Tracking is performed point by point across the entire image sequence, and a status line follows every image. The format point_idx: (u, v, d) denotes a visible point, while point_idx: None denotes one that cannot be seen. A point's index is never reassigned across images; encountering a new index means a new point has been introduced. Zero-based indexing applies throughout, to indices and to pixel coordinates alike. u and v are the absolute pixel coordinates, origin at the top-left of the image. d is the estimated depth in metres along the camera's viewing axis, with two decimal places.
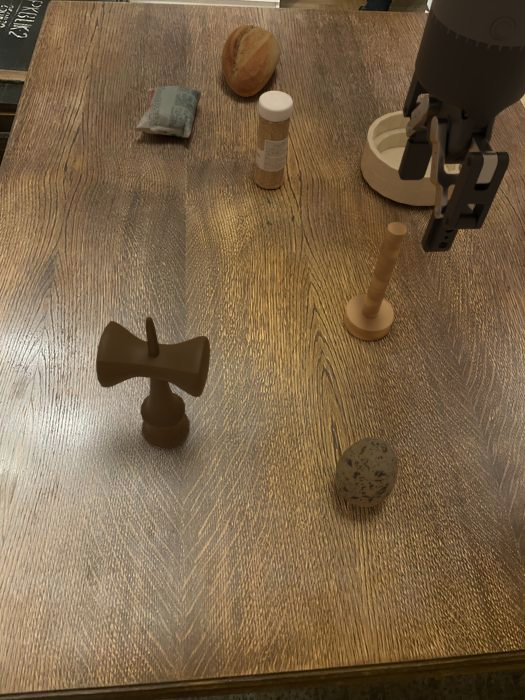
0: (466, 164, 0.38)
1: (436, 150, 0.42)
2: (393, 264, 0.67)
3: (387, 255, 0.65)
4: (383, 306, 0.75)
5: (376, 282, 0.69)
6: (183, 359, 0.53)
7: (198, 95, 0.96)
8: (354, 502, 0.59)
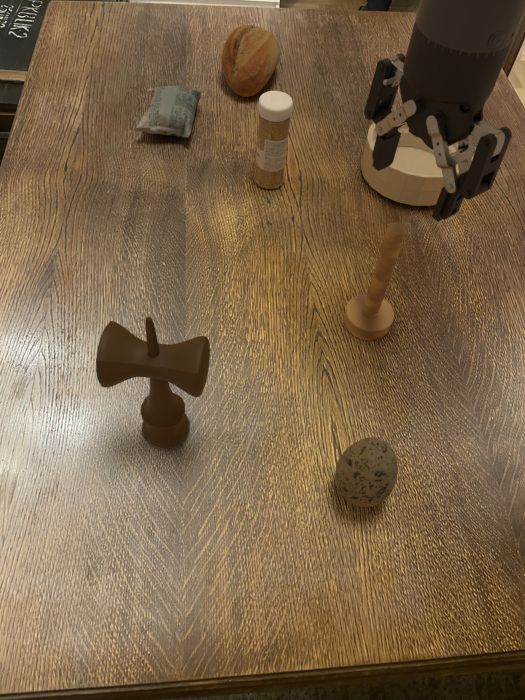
0: (484, 146, 0.48)
1: (438, 141, 0.51)
2: (393, 264, 0.67)
3: (387, 255, 0.65)
4: (383, 306, 0.75)
5: (376, 282, 0.69)
6: (183, 359, 0.53)
7: (198, 95, 0.96)
8: (354, 502, 0.59)
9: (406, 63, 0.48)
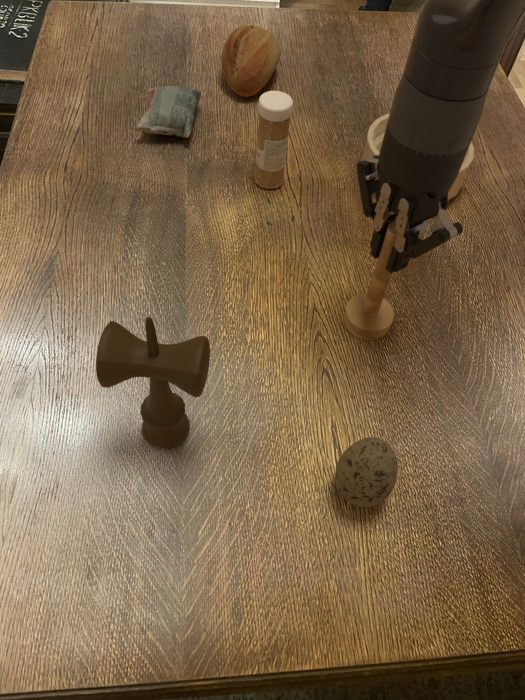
0: (439, 239, 0.57)
1: (403, 217, 0.59)
2: None
3: (387, 255, 0.65)
4: (383, 306, 0.75)
5: (376, 282, 0.69)
6: (183, 359, 0.53)
7: (198, 95, 0.96)
8: (354, 502, 0.59)
9: (380, 156, 0.56)
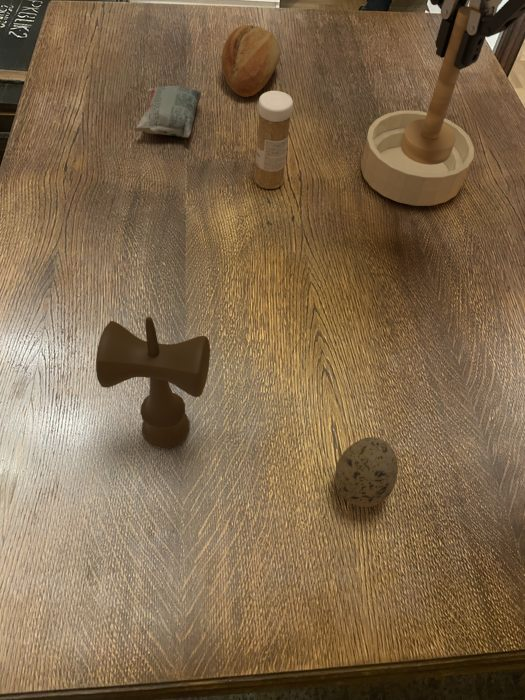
0: None
1: None
2: None
3: (456, 47, 0.61)
4: (443, 130, 0.71)
5: (441, 88, 0.65)
6: (183, 359, 0.53)
7: (198, 95, 0.96)
8: (354, 502, 0.59)
9: None
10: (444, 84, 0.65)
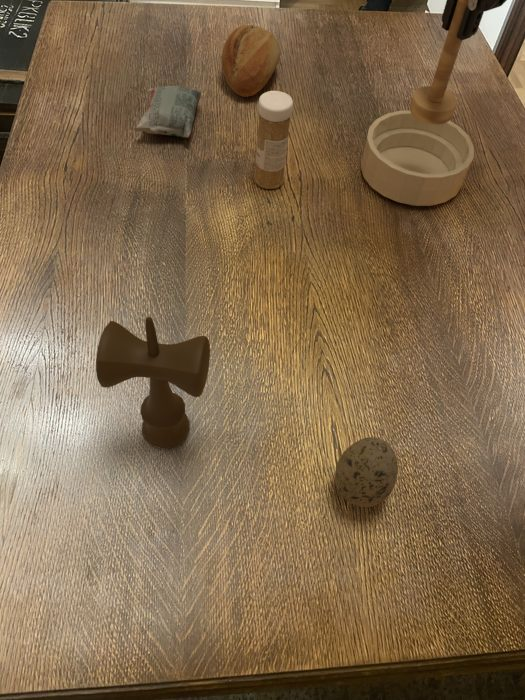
0: None
1: None
2: None
3: (458, 20, 0.73)
4: (446, 95, 0.83)
5: (445, 56, 0.77)
6: (183, 359, 0.53)
7: (198, 95, 0.96)
8: (354, 502, 0.59)
9: None
10: (448, 53, 0.77)
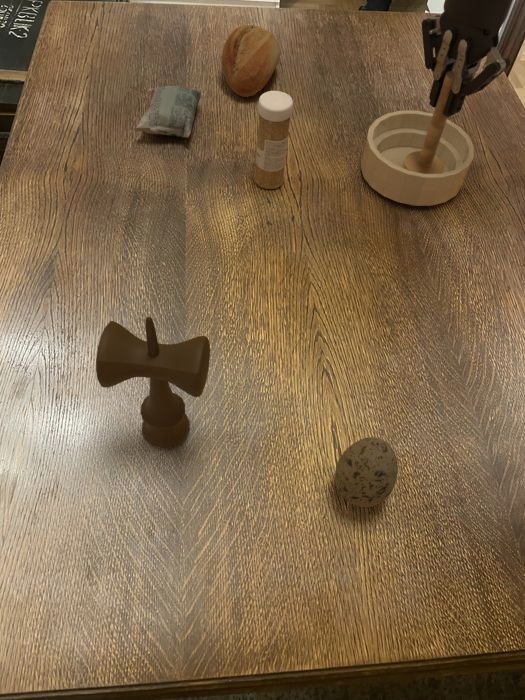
0: (491, 70, 0.72)
1: (462, 58, 0.75)
2: None
3: (444, 100, 0.81)
4: (435, 160, 0.91)
5: (432, 129, 0.85)
6: (183, 359, 0.53)
7: (198, 95, 0.96)
8: (354, 502, 0.59)
9: (446, 2, 0.71)
10: (435, 127, 0.84)
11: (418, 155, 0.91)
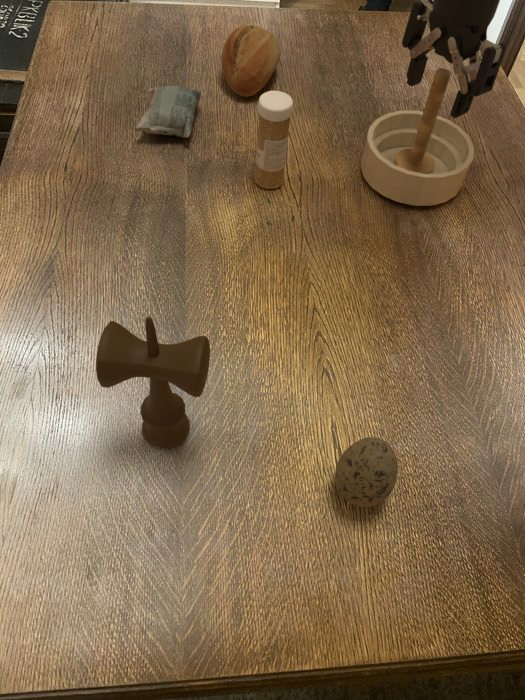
0: (487, 55, 0.71)
1: (456, 55, 0.75)
2: (438, 107, 0.83)
3: (434, 97, 0.82)
4: (425, 157, 0.92)
5: (423, 126, 0.85)
6: (183, 359, 0.53)
7: (198, 95, 0.96)
8: (354, 502, 0.59)
9: (435, 0, 0.72)
10: (425, 124, 0.85)
11: (409, 152, 0.92)
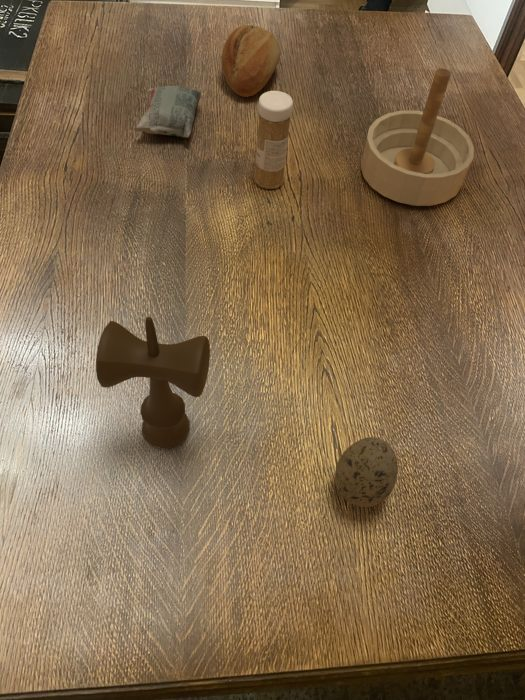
0: None
1: None
2: (438, 107, 0.83)
3: (434, 97, 0.82)
4: (425, 157, 0.92)
5: (423, 126, 0.85)
6: (183, 359, 0.53)
7: (198, 95, 0.96)
8: (354, 502, 0.59)
9: None
10: (425, 124, 0.85)
11: (409, 152, 0.92)
